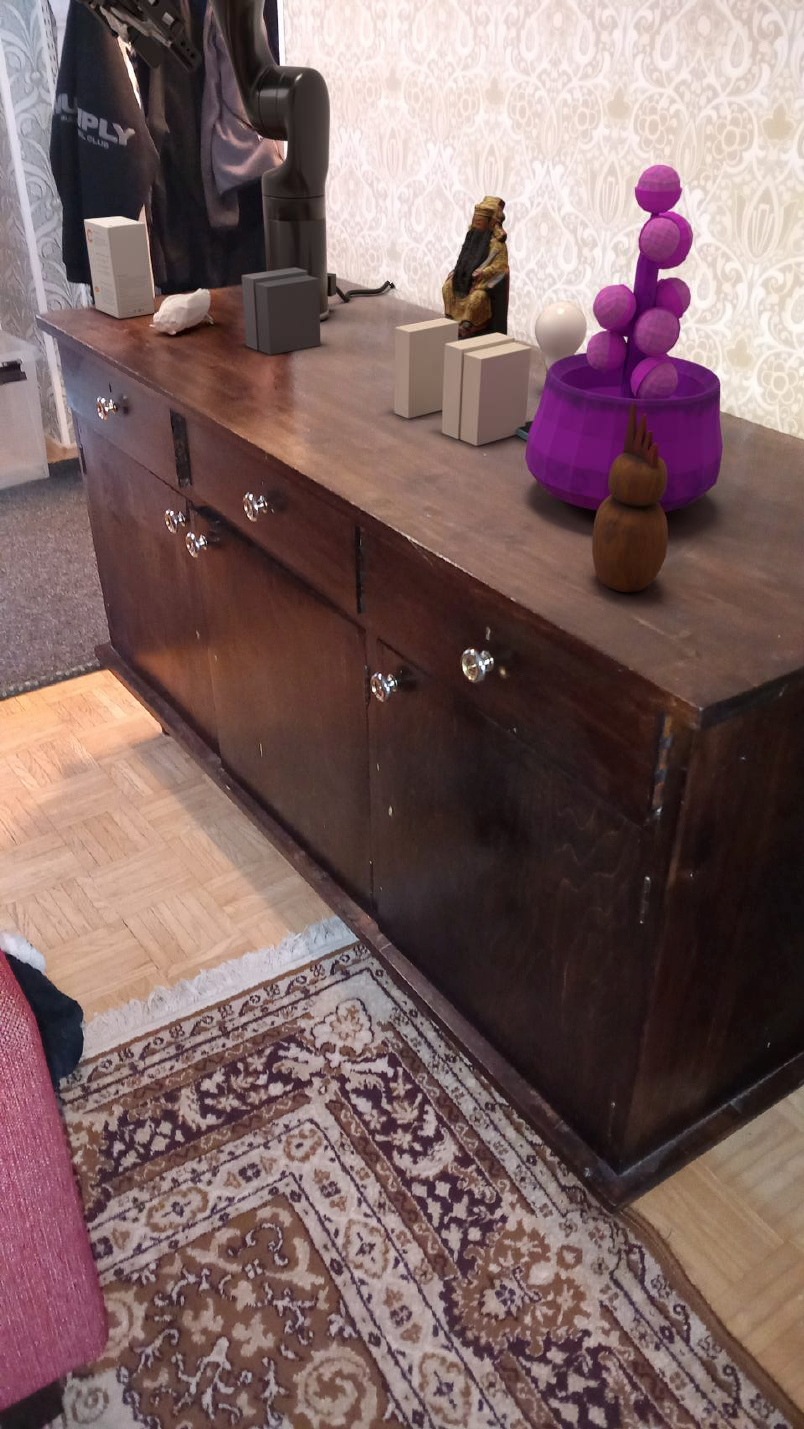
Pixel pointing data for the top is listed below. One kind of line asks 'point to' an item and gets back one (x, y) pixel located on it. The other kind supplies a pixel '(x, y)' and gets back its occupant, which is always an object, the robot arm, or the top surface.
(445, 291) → the statue
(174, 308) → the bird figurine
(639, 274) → the decorative plant
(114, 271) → the small box
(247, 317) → the grey books
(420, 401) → the white book
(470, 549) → the top surface
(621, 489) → the wooden figurine
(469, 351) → the white books
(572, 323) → the lightbulb
